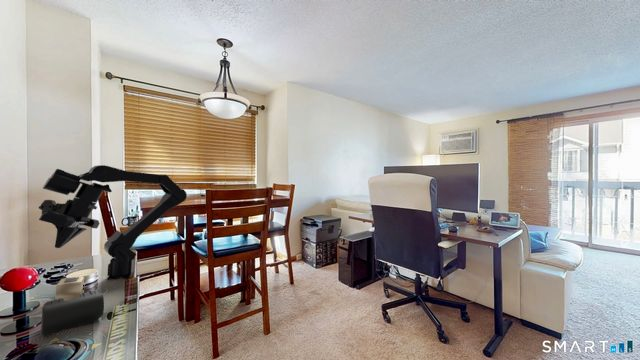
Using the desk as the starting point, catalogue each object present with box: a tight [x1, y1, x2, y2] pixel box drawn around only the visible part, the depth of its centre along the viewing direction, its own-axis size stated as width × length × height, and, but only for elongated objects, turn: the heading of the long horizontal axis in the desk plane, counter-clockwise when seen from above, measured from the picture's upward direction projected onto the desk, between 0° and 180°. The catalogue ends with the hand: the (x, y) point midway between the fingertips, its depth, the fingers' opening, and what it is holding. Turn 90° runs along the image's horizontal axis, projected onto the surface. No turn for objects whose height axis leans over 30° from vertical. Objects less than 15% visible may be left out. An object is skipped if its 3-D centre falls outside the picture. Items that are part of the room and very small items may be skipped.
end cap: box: [40, 290, 105, 337], centre depth 58 cm, size 10×7×7 cm
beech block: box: [54, 276, 85, 301], centre depth 71 cm, size 5×5×5 cm
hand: (57, 247), depth 74 cm, fingers closed
